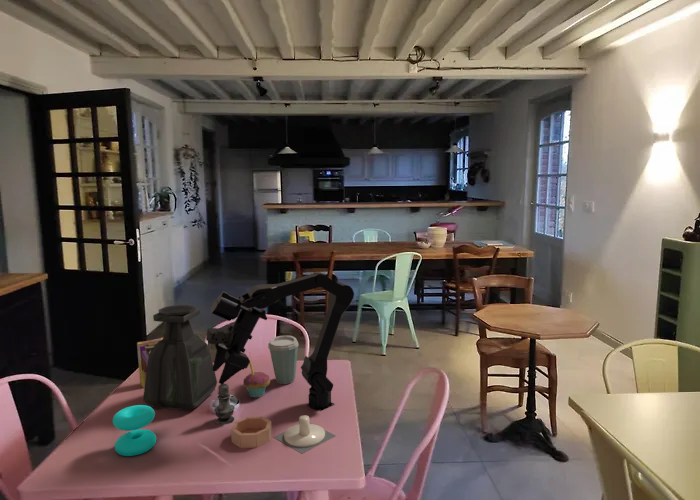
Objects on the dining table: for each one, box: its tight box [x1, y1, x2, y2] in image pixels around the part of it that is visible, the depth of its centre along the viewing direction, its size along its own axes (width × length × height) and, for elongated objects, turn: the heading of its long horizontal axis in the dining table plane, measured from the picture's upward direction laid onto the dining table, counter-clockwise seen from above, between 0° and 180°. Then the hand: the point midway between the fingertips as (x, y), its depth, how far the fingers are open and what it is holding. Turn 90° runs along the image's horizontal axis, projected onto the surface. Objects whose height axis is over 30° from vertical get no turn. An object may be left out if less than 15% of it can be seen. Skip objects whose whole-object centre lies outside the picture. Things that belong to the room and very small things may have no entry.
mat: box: [273, 422, 337, 454], centre depth 129 cm, size 12×12×1 cm
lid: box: [284, 415, 325, 447], centre depth 129 cm, size 11×11×5 cm
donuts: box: [112, 404, 157, 457], centre depth 125 cm, size 10×10×10 cm
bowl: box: [230, 416, 273, 449], centre depth 128 cm, size 10×10×4 cm
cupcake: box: [243, 359, 271, 398], centre depth 157 cm, size 9×8×12 cm
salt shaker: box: [213, 382, 236, 426], centre depth 139 cm, size 6×6×12 cm
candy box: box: [136, 337, 163, 389], centre depth 166 cm, size 9×4×15 cm, turn 127°
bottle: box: [142, 304, 218, 411], centre depth 151 cm, size 18×16×30 cm
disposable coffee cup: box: [267, 335, 299, 385], centre depth 167 cm, size 11×11×15 cm
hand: (217, 376), depth 135 cm, fingers open, 9 cm apart
